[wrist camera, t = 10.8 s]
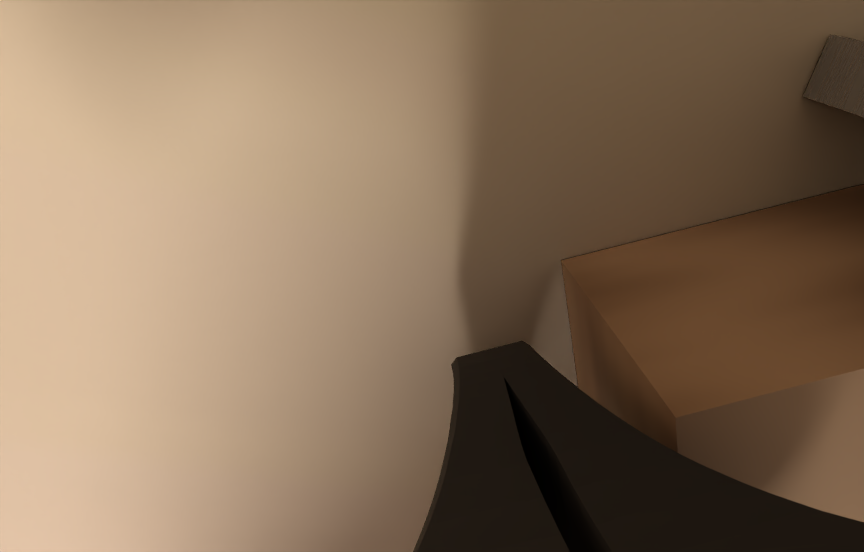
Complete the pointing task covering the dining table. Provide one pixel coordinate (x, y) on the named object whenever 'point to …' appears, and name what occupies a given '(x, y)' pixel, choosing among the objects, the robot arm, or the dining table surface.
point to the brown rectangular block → (738, 345)
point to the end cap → (839, 75)
